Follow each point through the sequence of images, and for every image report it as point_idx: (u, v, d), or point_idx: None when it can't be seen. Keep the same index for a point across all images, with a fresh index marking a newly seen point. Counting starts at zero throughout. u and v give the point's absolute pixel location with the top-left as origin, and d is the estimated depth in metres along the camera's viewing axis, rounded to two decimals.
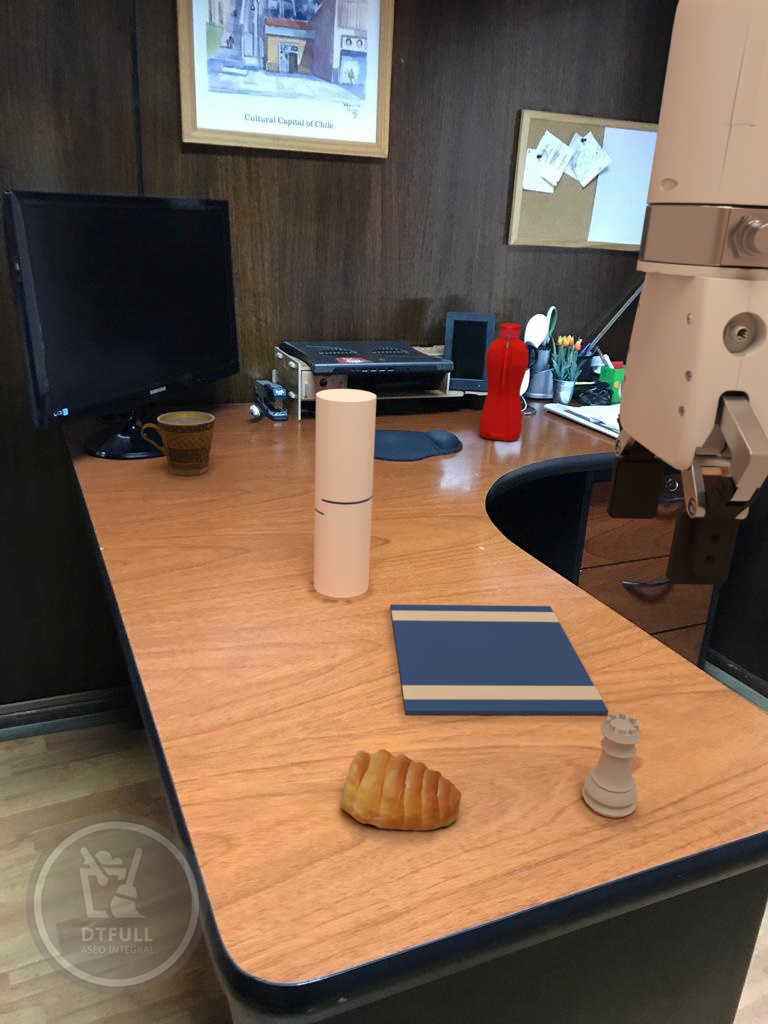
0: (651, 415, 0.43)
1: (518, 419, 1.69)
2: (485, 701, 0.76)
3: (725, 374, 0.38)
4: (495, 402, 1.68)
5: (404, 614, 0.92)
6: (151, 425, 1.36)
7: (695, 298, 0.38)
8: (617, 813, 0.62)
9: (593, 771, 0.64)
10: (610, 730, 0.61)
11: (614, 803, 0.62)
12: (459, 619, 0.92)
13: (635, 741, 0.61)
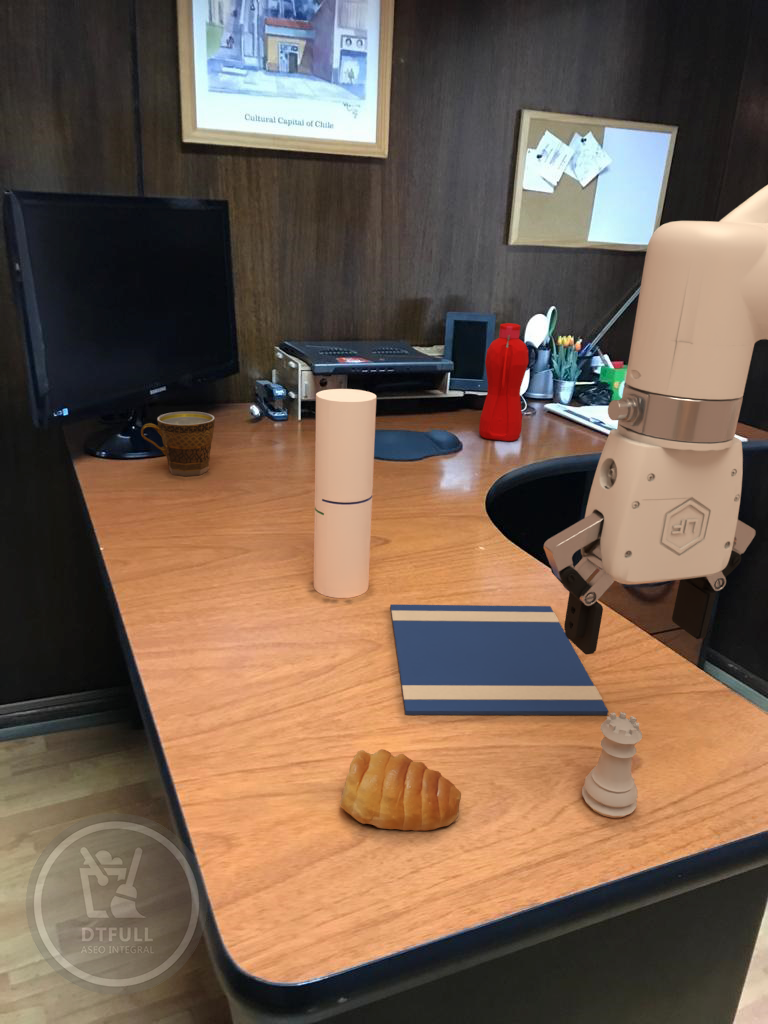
0: None
1: (518, 419, 1.69)
2: (485, 701, 0.76)
3: (596, 497, 0.53)
4: (495, 402, 1.68)
5: (404, 614, 0.92)
6: (151, 425, 1.36)
7: None
8: (617, 813, 0.62)
9: (593, 771, 0.64)
10: (610, 730, 0.61)
11: (614, 803, 0.62)
12: (459, 619, 0.92)
13: (635, 741, 0.61)
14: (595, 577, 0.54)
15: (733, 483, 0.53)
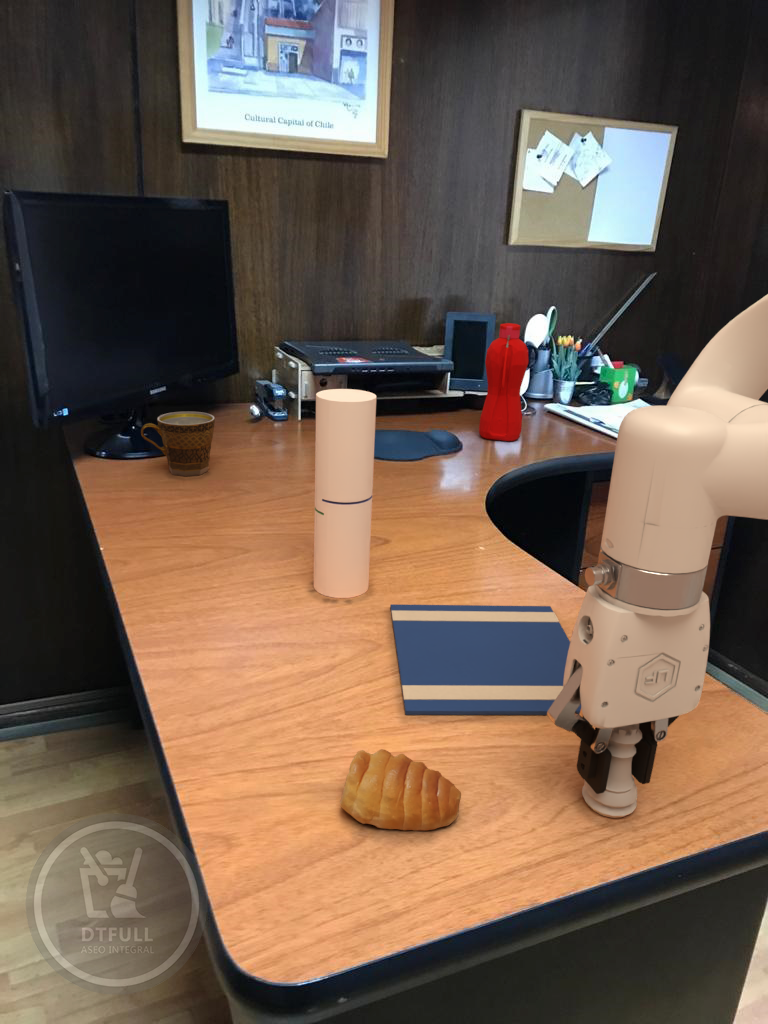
0: None
1: (518, 419, 1.69)
2: (485, 701, 0.76)
3: (576, 648, 0.58)
4: (495, 402, 1.68)
5: (404, 614, 0.92)
6: (151, 425, 1.36)
7: None
8: (617, 813, 0.62)
9: None
10: None
11: (614, 803, 0.62)
12: (459, 619, 0.92)
13: (635, 741, 0.61)
14: (596, 730, 0.60)
15: (701, 636, 0.57)
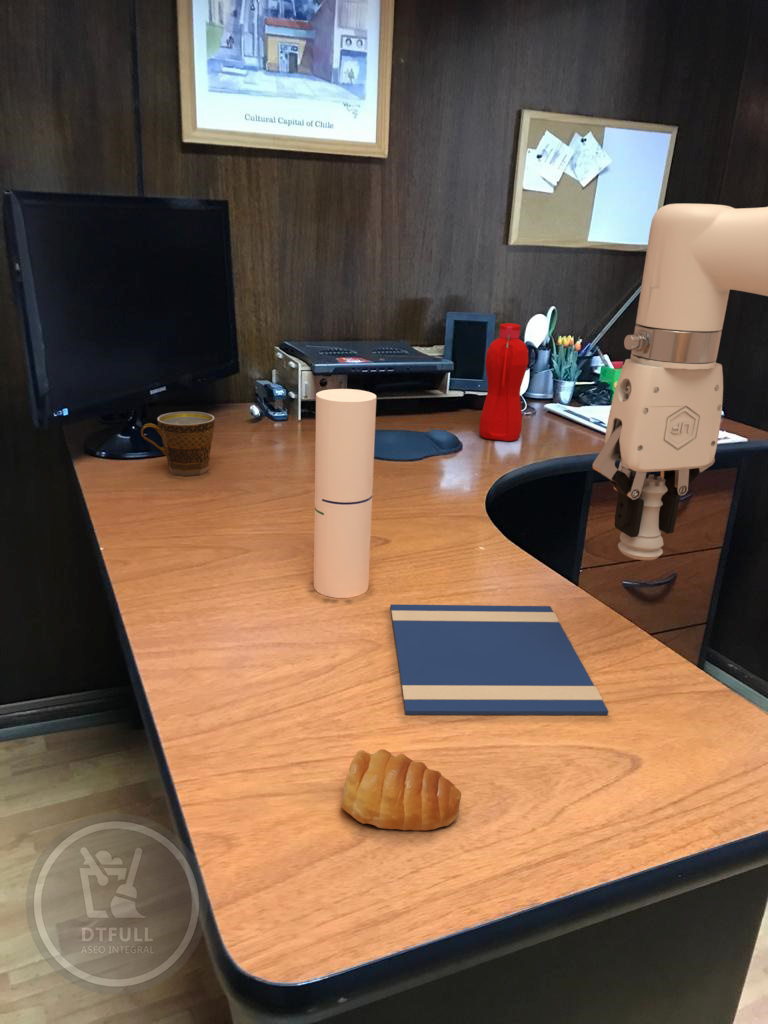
0: None
1: (518, 419, 1.69)
2: (485, 701, 0.76)
3: (616, 409, 0.73)
4: (495, 402, 1.68)
5: (404, 614, 0.92)
6: (151, 425, 1.36)
7: None
8: (647, 555, 0.77)
9: None
10: None
11: (645, 546, 0.76)
12: (459, 619, 0.92)
13: (662, 491, 0.75)
14: (631, 479, 0.74)
15: (716, 395, 0.72)
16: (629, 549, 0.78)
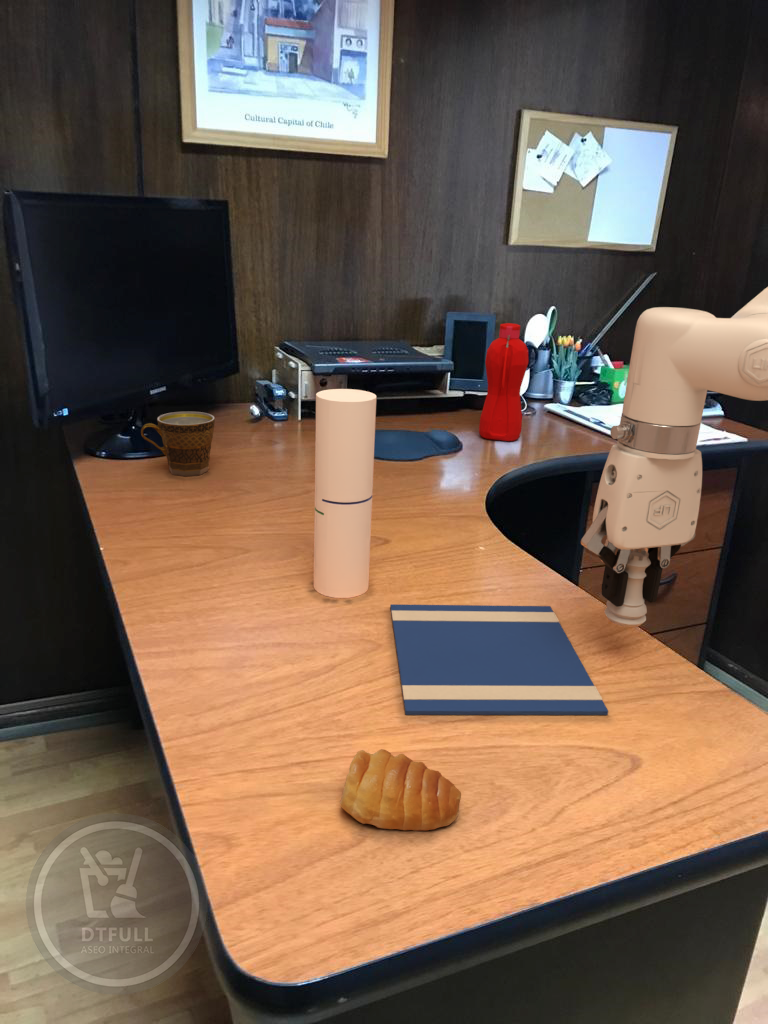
0: None
1: (518, 419, 1.69)
2: (485, 701, 0.76)
3: (603, 490, 0.79)
4: (494, 402, 1.68)
5: (404, 614, 0.92)
6: (151, 425, 1.36)
7: None
8: (631, 622, 0.83)
9: None
10: None
11: (630, 614, 0.82)
12: (459, 619, 0.92)
13: (645, 565, 0.81)
14: (617, 554, 0.80)
15: (695, 480, 0.78)
16: (615, 616, 0.84)
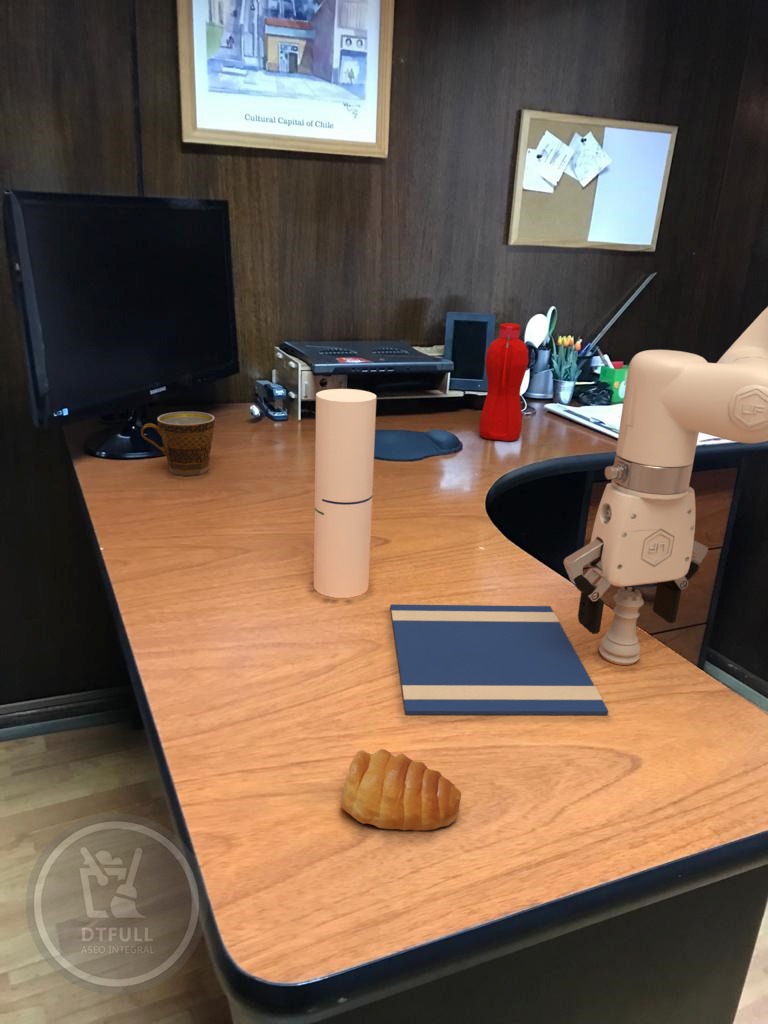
0: None
1: (518, 419, 1.69)
2: (485, 701, 0.76)
3: (598, 529, 0.80)
4: (495, 402, 1.68)
5: (404, 614, 0.92)
6: (151, 425, 1.36)
7: None
8: (625, 661, 0.84)
9: (607, 632, 0.86)
10: (620, 598, 0.83)
11: (623, 653, 0.84)
12: (459, 619, 0.92)
13: (639, 605, 0.83)
14: (598, 582, 0.80)
15: (689, 518, 0.79)
16: (609, 654, 0.85)
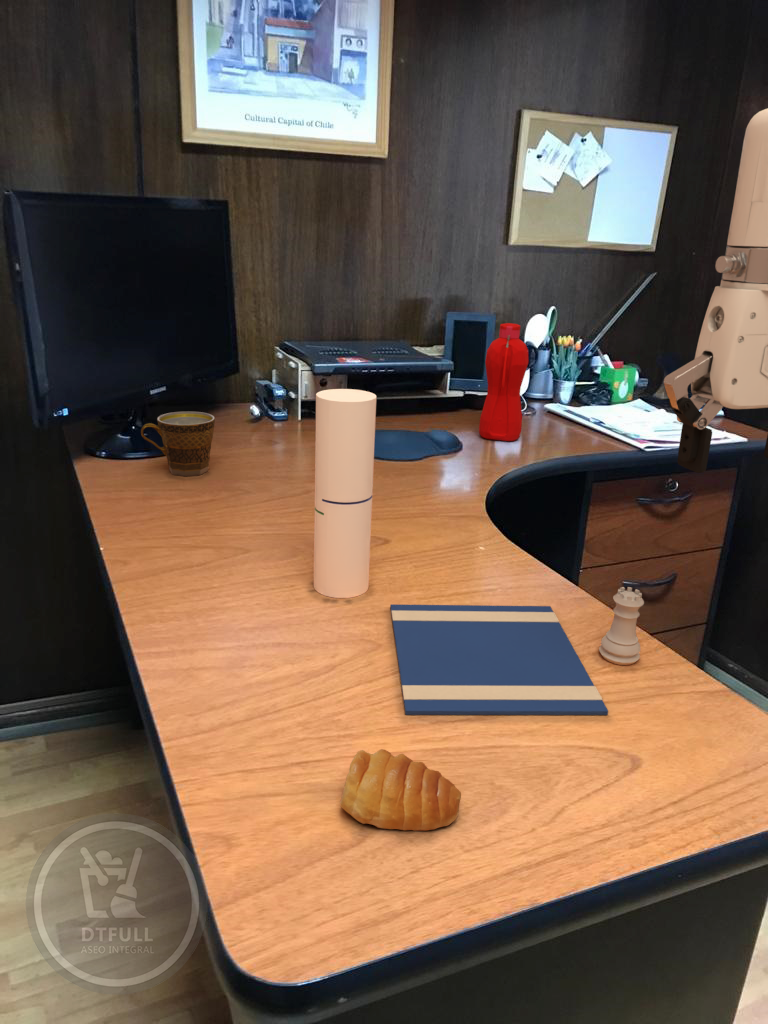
0: None
1: (518, 419, 1.69)
2: (485, 701, 0.76)
3: (705, 340, 0.66)
4: (495, 402, 1.68)
5: (404, 614, 0.92)
6: (151, 425, 1.36)
7: None
8: (625, 661, 0.84)
9: (607, 632, 0.86)
10: (620, 598, 0.83)
11: (623, 653, 0.84)
12: (459, 619, 0.92)
13: (639, 605, 0.83)
14: (706, 406, 0.67)
15: None
16: (609, 654, 0.85)
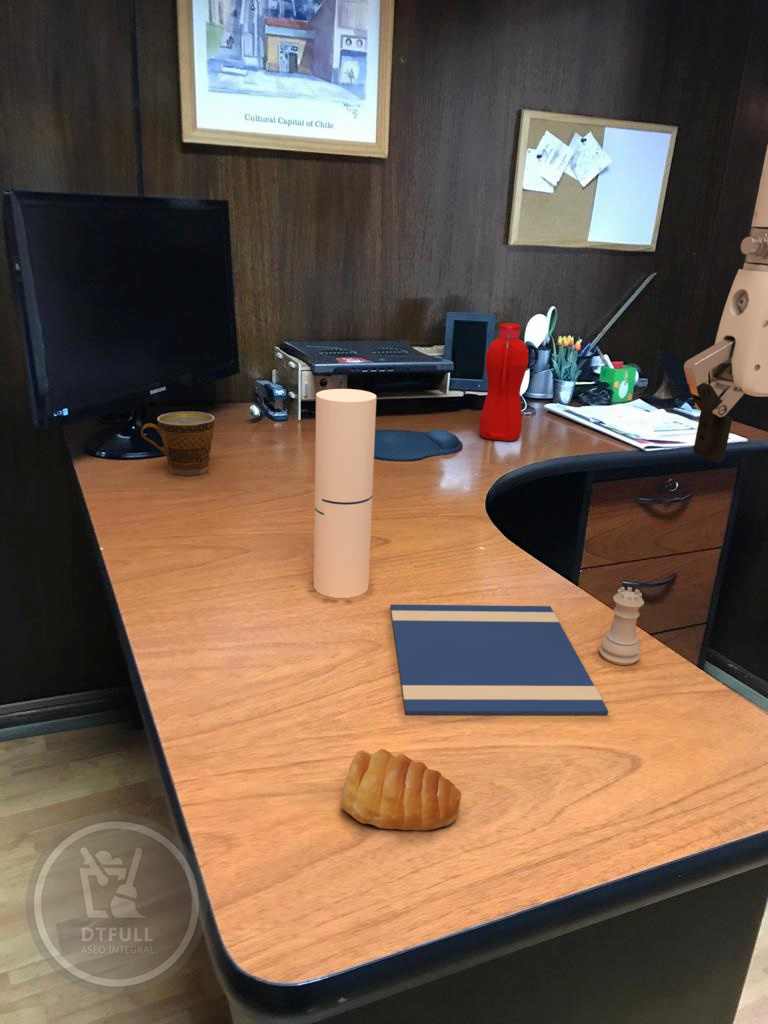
0: None
1: (518, 419, 1.69)
2: (485, 701, 0.76)
3: (727, 325, 0.64)
4: (494, 402, 1.68)
5: (404, 614, 0.92)
6: (151, 425, 1.36)
7: None
8: (625, 661, 0.84)
9: (607, 632, 0.86)
10: (620, 598, 0.83)
11: (623, 653, 0.84)
12: (459, 619, 0.92)
13: (639, 605, 0.83)
14: (726, 392, 0.65)
15: None
16: (609, 654, 0.85)
